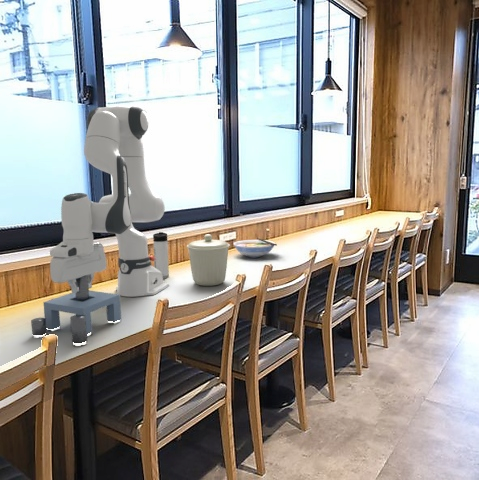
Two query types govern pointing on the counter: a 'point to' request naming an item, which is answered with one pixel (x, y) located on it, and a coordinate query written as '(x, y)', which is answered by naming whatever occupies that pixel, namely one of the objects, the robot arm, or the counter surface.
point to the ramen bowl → (254, 247)
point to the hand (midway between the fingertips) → (81, 290)
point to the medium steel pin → (78, 328)
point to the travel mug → (161, 253)
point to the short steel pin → (38, 326)
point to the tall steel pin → (82, 288)
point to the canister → (208, 260)
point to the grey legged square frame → (82, 308)
